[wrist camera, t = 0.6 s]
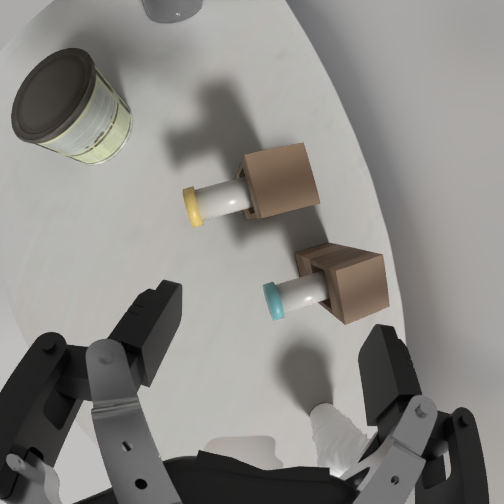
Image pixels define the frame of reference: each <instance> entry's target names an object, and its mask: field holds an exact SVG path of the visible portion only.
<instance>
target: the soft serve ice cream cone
mask: <svg viewBox="0 0 504 504" xmlns="http://www.w3.org/2000/svg"><path fill="white" fill-rule="evenodd" d="M310 419H311V425H312V432H313V437H312V438H313V441H314V443H315V445H316V448H317V455H318V460H317V462H318V467H330V475H333V476H336V477H340V476H341V475H342V474H343V473H344V472H346V471H347V470H348V469H349V468H350V467H351V466H352V465H353V463H354V462H355V461H356V459H357V458H358V457H359V455H360V454H361V453H362V451H363V450H364V448H365V447H366V445H367V444H368V443H369V441H370V440H371V439H367V434H363V433H362V431H361V430H360V429H358V428H357V427H356V426H355V425H354V424H353V423H352V420H351V419H350V418H348V417H346V416H345V415H343V414H342V413H341V412H340V411H339V410H337V409H336V408H335V407H334V406H333V405H331V404H329V403H323V404H320V405H318V406H316V407H315V408H314V409H313V410H312V411H311V413H310Z"/></svg>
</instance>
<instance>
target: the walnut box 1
mask: <svg viewBox="0 0 504 504" xmlns="http://www.w3.org/2000/svg"><path fill="white" fill-rule="evenodd" d="M242 177H245V178H246V181H247V185H248V189H249V192H250V196H251V200H252V203H253V207H251V208H247V209H244V210H243V212H244V216H245V219H260V218H265V217H269V216H273V215H277V214H280V213H284V212H288V211H292V210H296V209H300V208H304V207H308V206H312V205H315V204H319V203H320V199H319V196H318V192H317V188H316V184H315V180H314V177H313V173H312V170H311V166H310V163H309V159H308V156H307V152H306V149H305V146H304V143H298V144H293V145H287V146H282V147H277V148H272V149H268V150H263V151H258V152H254V153H249V154H245V155H244V157H243V159H242V162H241V164H240V167H239V169H238V171H237V174H236V176H235V179H238V178H242Z"/></svg>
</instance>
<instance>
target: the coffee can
mask: <svg viewBox="0 0 504 504" xmlns="http://www.w3.org/2000/svg"><path fill="white" fill-rule="evenodd" d="M11 121H12V128H13V130H14V133H15V134H16V136H17V137H18V138H19V139H21V140H22V141H24V142H28V143H34V144H36V145H39V146H41V147H44V148H46V149H49V150H52V151H55V152H57V153H60V154H62V155H65V156H67V157H70V158H72V159H75V160H77V161H79V162H81V163H83V164H87V165H97V164H101V163H104V162H106V161H108V160H110V159H111V158H113V157H114V156H115V155H116V154H117V153H118V152H119V151H120V150H121V149H122V148H123V147H124V145H125V144H126V142H127V140H128V138H129V136H130V133H131V130H132V114H131V111H130V108H129V106H128V105H127V104H126V103H125V102H124V101H123V100H122V99H121V98H120V96H119V95H118V94H117V93H116V91H115V90H114V89H113V87H112V86H111V85H110V84H109V82H108V81H107V80H106V78H105V77H104V76H103V75H102V73H101V72H100V71H99V70H98V68H97V67H96V66H95V65H94V62H93V60H92V58H91V57H90V55H89V54H88V53H87V52H85V51H84V50H82V49H78V48H68V49H63V50H60V51H57V52H55V53H53V54H51V55H50V56H48V57H46V58H45V59H44V60H43V61H41V62H40V63H39V64H38V65H37V66H36V67H35V68H34V69H33V70H32V71H31V72H30V73H29V74H28V76H27V77H26V78H25V80H24V81H23V83H22V85H21V86H20V88H19V90H18V92H17V95H16V97H15V100H14V103H13V107H12V114H11Z"/></svg>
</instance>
